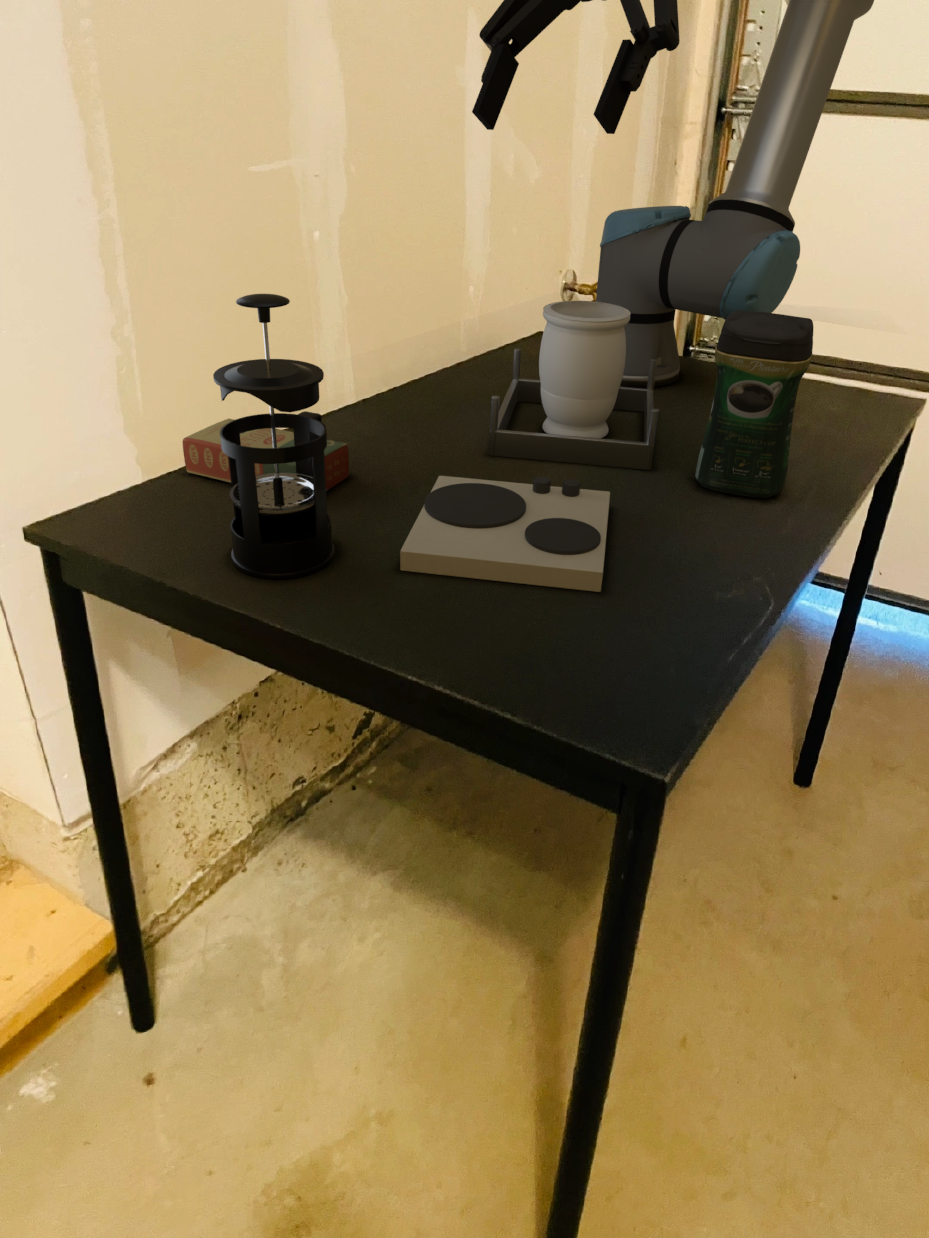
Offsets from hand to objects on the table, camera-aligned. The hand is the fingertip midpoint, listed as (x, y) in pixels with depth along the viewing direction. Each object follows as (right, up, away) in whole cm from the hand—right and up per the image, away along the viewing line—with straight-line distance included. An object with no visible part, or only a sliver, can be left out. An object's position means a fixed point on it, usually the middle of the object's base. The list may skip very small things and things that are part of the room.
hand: (540, 123), depth 81 cm
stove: (-2, -36, +7) cm, 37 cm away
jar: (+7, -21, +34) cm, 40 cm away
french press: (-23, -38, +3) cm, 45 cm away
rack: (+7, -21, +34) cm, 40 cm away
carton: (-28, -29, +19) cm, 44 cm away
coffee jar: (+24, -30, +20) cm, 43 cm away
